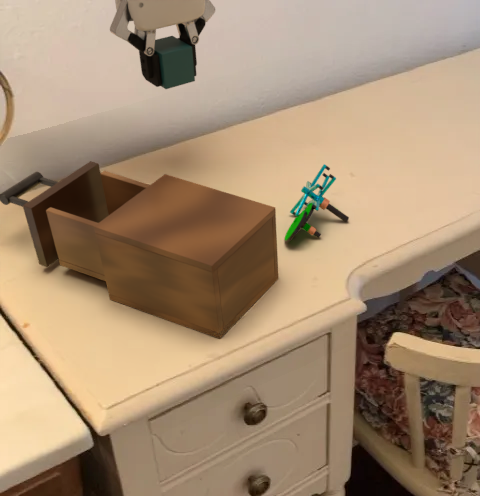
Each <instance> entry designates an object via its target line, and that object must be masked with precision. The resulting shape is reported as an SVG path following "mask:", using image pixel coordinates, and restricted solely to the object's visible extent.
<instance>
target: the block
mask: <svg viewBox="0 0 480 496" xmlns="http://www.w3.org/2000/svg"><path fill="white" fill-rule="evenodd" d="M177 38H178V37H175V36H173V35H169V36H165V37H160V38H157V39H155V49H154V53H156V54H157V55H158V56H159V61H160V69H161V78H162V85H161V86H160V87H161V88H162V89H163V88H164V89H165V90H168V89H169V90H170V89H172V88H175V87H179V86H183V85H186V84H190V83H193V82H195V81H196V76H194V64H193V53H192V47H191V46H189V45H188V44H186V43H184V42H183V41H181V40H179V39H177Z"/></svg>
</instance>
